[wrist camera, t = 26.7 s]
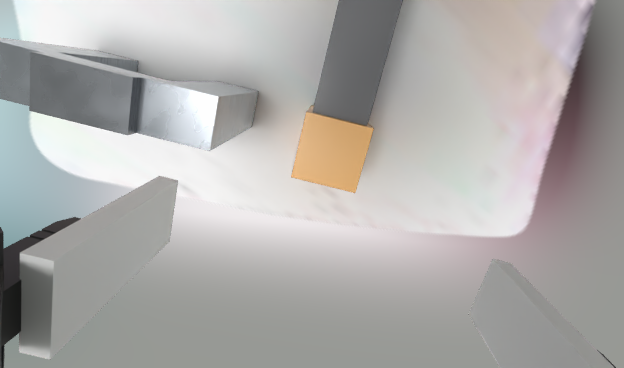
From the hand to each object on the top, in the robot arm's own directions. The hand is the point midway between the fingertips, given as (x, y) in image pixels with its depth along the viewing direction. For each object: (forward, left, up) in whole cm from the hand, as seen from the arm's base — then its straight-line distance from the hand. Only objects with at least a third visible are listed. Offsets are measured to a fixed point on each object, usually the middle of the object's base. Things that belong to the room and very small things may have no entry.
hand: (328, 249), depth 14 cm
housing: (+18, -2, -27) cm, 32 cm away
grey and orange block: (0, -8, -27) cm, 28 cm away
